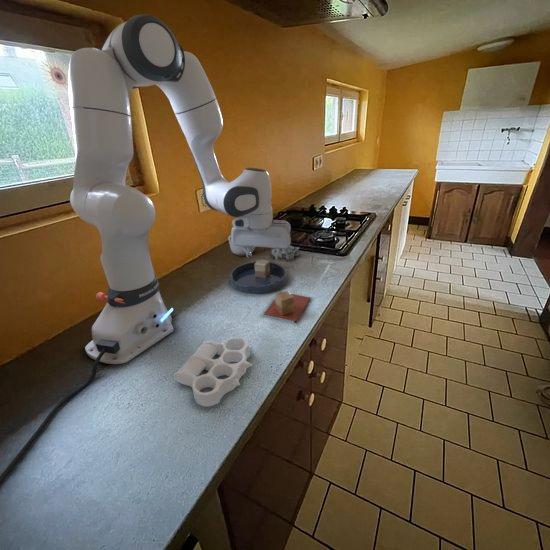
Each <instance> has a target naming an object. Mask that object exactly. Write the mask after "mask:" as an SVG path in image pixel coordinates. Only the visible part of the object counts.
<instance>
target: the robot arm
mask: <svg viewBox="0 0 550 550" xmlns="http://www.w3.org/2000/svg"><path fill="white" fill-rule="evenodd" d="M151 86H157V87H158V88H159V89H160V90H161V91H162V92H163V93H164V94H165V96H166V98H167V100H168V101H169V104H170V106H171V108H172V111H173V113H174V115H175V118H176V120H177V122H178V124H179V127H180V128H181V131H182V133H183V134H184V137H185V140H186V142H187V144H188V147H189V150H190V153H191V156H192V159H193V161H194V164H195V166H196V169H197V172H198V174H199V177H200V181H201V183H202V196H203V200H204V203H205V205H206V206H207V207H208V208H210V209H211V210H213V211H216V212H220V213H222V214H224V215H227V216H230V217H231V218H232V217H233V220H232V221H231V224H232V228H231V233H230V235H231V239H232V243H233V244H234V245H235V246H242V247H243V250H244V251H245V253H246V256H245V257H246V258H252V257H253V252H252V251H249V249H248V248H247V247H248V246H252V247H255V248H269V249H271V248H275V250H276V251H277V252H276V253H273V254H271V256H272V260H278V259H279V256H278V252H279V251H280V249H281V248H285V249H286V248H288V247H289V246H291V244H292V239H291V231H292V226H291V224H290V222H289V221H287V220H284V219H283V220H281V219H280V220H279V219H274V214H273V212H274V211H273V206H272V198H273V195H272V194H273V192H272V182H271V177H270V174H269V172H268V171H267V170H266V169H264V168H258V167H257V168H256V167H246V168H244V169H243V171H242V173H241V174H239V176H237V178H235V179H233V180H232V181H229V180H227V179H226V178H225V177H224V176H223V175H222V172H221V170H220V166H219V163H218V161H217V157H216V154H215V150H214V146H215V145H214V144H215V142H216V140H218V139H219V137H220V135H221V133H222V131H223V127H224V121H223V116H222V110H221V108H220V104H219V102H218V99H217V96H216V94H215V91H214V88H213V87H212V84H211V82H210V80H209V77H208V76H207V74H206V72H205V69H204V68H203V66H202V63H201V62H200V60H199V59H198V57H196V55H194V53H192V52H190V51H185V50H184V48H183V46H181V44H180V43H179V42H178V40H177V38H176V37H175V34H174V33H173V32H172V30H171V29H170V27H168V25H166V23H165V22H164V21H162V20H161V19H160V18H158V17H157V16H154V15H151V14H136V15H133V16H131V17H129V19H127V21H124V22H121V23H120V24H118V25H117V26H116V27H115V28H113V30H112V31H111V32H110V34H109V35H107V36H106V37H105V39H104V40H103V41H102V44H101V47H100V48H95V47H82V48H79V49H76V50H75V51H73V53H72V54H71V55H70V57H69V65H68V101H69V108H70V116H71V125H72V132H73V140H74V141H73V142H74V153H75V155H74V171H73V172H74V173H73V187H72V190H71V192H70V196H69V203H70V206H71V209H72V210H73V212H75V214H76V216H78V217H79V218H80V219H81V220H82V221H84V223H86V224H89V225H91V226H94V227H96V229H97V230H98V232H99V235H100V239H101V254H100V258H99V259H100V264H101V266H102V269H103V272H104V276H105V278H106V281H107V284H108V285H107V293H106V292H103V291H99V292H97V293H96V296H95V299H96V300H98V301H101V302H106V303H105V305H104V307H103V309H102V311H100V314H99V315H98V317H97V318H96V320H95V322H94V323H93V324H92V326H91V337H92V340H91V341H90V342H88V343H87V344H86V345H85V346H84V350H85V353H86V355H87V356H88V357H89V358H90V359H92V360H94V362H93V364H92V369H91V375H90V376H89V378H88V379H87V380H86V381H85V382H84V383H83V384H82V385H81V386H79V387H78V388H76V389H75V390H73V391H71V392H70V393H68V394H67V395H66V396H65V397H63V398H62V399H61V400H59V402H58V403H57V404H56V405H55V407H54V408H53V409H52V410H51V411H50V412H49V413H48V415H47V416H46V417H45V418H44V420H43V421H42V423H41V424H40V426H39V427H38V428H37V429H36V431H35V432H34V434H32V436H31V437H30V438H29V440H28V441H27V442H26V444H24V446H23V447H22V448H21V450H20V451H19V452H18V453H17V455H16V456H15V457H14V458H13V459H12V461H11V462H10V463H9V464H8V466H7V467H6V468H5V469H4V471H3V472H2V473H1V474H0V485H1V483H2V482H4V480H5V479H6V477H7V476H9V474H10V473H11V472H12V470H13V469H14V468H15V467H16V466H17V464H18V463H19V461H20V460H21V459H22V458H23V456H24V455H25V454H26V452H27V451H28V450H29V448H30V447H32V445H33V444H34V442H35V441H36V440H37V439H38V437H39V436H40V434H41V433H42V432H43V430H44V429H45V428H46V426H47V425H48V424H49V422H50V421H51V420H52V418H53V417H54V416H55V414H56V413H57V412H58V411H59V410H60V409H61V407H62V406H63V405H64V404H66V403H67V401H69V400H70V399H72V398H73V397H74V396H76V395H77V394H78V393H80V392H81V391H83V390H84V389H85V388H87V387H88V386H89V385H90V384H91V383H92V382H93V380H94V379H95V378H96V375H97V371H98V369H97V368H98V365H99V363H102V364H107V365H108V364H109V365H122V364H127V363H129V362H130V361H131V360H132V359H134V358H136V357H137V356H139V355H140V354H141V353H143V352H145V351H146V350H148V349H149V348H150V347H152V346H153V345H155V344H156V343H158V342H159V341H161V340H162V339H164V338H166V336H168V335H170V334H171V333H173V332H174V327H173V324H172V323H173V322H172V321H173V316H172V314H171V313H172V312H173V311H174V308H173V307H171V308H170V309H169V310H168V308H167V306H166V305H165V303H164V300H163V297H162V295H161V292H160V283H159V280H158V275H157V274H156V273H155V271H154V270H155V269H154V267H153V263H152V258H151V254H150V246H149V243H150V242H149V240H150V239H149V237H150V236H149V235H150V230H151V228H152V227H154V223H155V220H156V208H155V204H154V203H153V201H152V200H151V199H150V197H148V196H147V195H146V194H144V193H143V192H142V191H140V190H138V189H137V188H136V187H133V186H130V185H126V179H127V172H128V168H129V165H130V163H131V161H132V160H133V158H134V140H133V139H134V138H133V125H132V124H133V123H132V111H131V104H130V103H131V102H130V100H131V93H132V90H135V89H140V88H142V87H143V88H144V87H151Z"/></svg>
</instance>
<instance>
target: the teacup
mask: <svg viewBox="0 0 550 550" xmlns="http://www.w3.org/2000/svg"><path fill="white" fill-rule="evenodd" d="M227 239H228V244H229V248H230V251H231V253H232V254H233V255H236V256H238V257H247V256H246V253H245V251H244V250H243V247H242V246H235V245H234V244H233V243H232V239H231V234H230V235H229V236H228V237H227ZM247 248H248V249H249V251H252V253H253V252H254V251H255V249H256V247H252V246H248V247H247Z"/></svg>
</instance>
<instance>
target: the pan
mask: <svg viewBox="0 0 550 550" xmlns="http://www.w3.org/2000/svg"><path fill="white" fill-rule="evenodd" d="M257 261H258V260H256V261H250V262H249V261H248V262H245V263H242V264H239V265H238V266H235V267H234V268H233V269H232V270H231V271H230V273H229V281H230V285H231V287H232V288H233V289H234V290H236V291H238V292H241V293H244V294H250V295H261V294H268V293H271V292H274V291H277V290H279V289H280V288H282V287H283V286H284V285H285V284H286V283H287V278H288V277H287V271H286V270H287V269H286V268H285V267H284V266H283V265H281V264H279V263H276V262H274V261H269V262H270V274H269V275H268V276H267V277H266V278H261V277H255V265H254V264H255V263H256V262H257Z"/></svg>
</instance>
